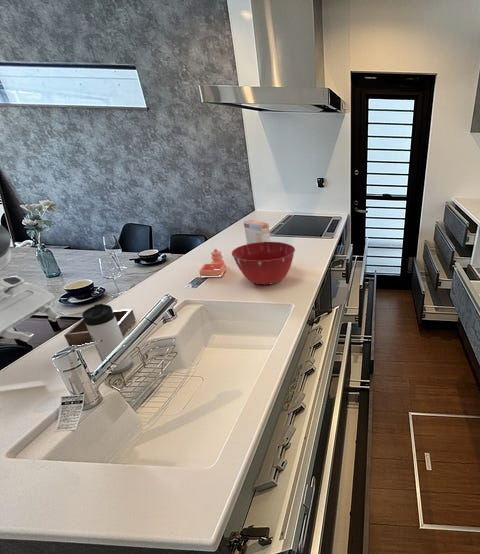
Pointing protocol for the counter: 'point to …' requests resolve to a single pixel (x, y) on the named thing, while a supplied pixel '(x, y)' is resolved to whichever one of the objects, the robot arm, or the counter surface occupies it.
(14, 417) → the counter surface
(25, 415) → the counter surface
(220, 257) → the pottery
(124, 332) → the basket
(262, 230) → the cracker box
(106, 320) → the travel mug
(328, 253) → the counter surface
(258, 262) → the mixing bowl
